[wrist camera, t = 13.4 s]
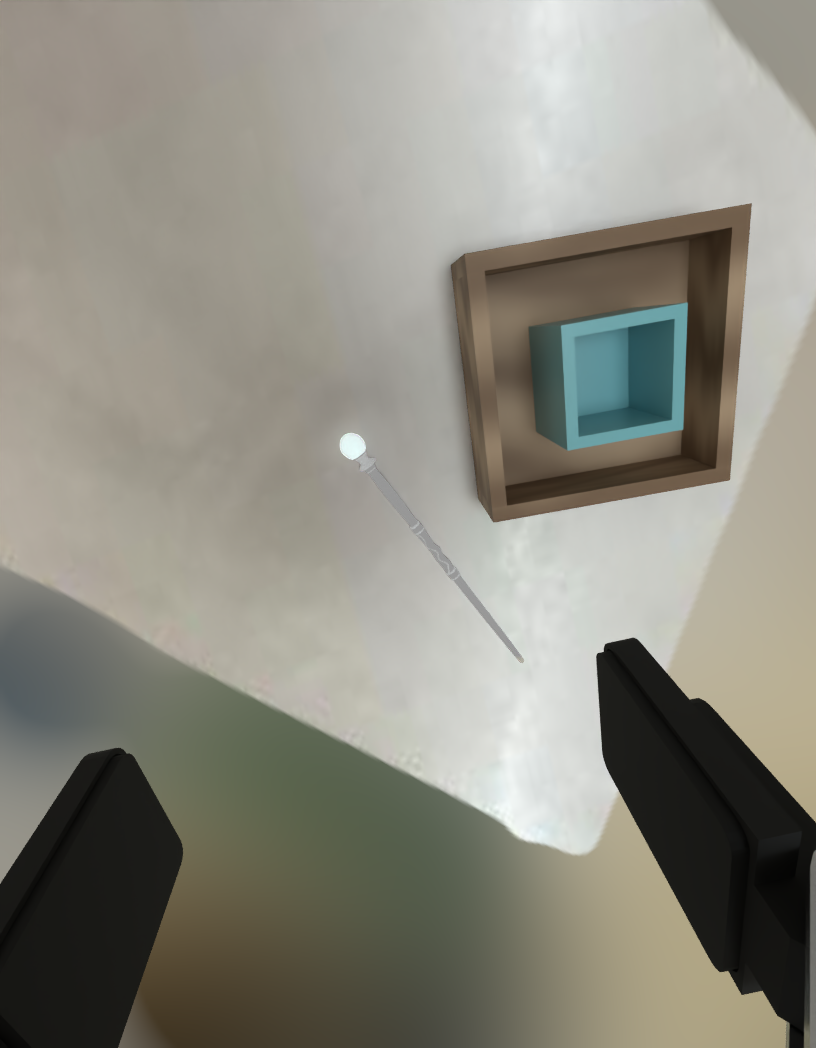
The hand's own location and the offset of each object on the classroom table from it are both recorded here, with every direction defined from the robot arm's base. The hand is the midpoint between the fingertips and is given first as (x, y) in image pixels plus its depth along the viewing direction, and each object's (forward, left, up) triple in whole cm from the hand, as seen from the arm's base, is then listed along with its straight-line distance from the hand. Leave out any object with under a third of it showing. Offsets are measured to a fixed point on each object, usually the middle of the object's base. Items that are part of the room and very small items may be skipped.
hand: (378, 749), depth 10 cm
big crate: (-3, +15, -28) cm, 32 cm away
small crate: (-3, +15, -27) cm, 31 cm away
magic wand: (+10, +4, -28) cm, 30 cm away
